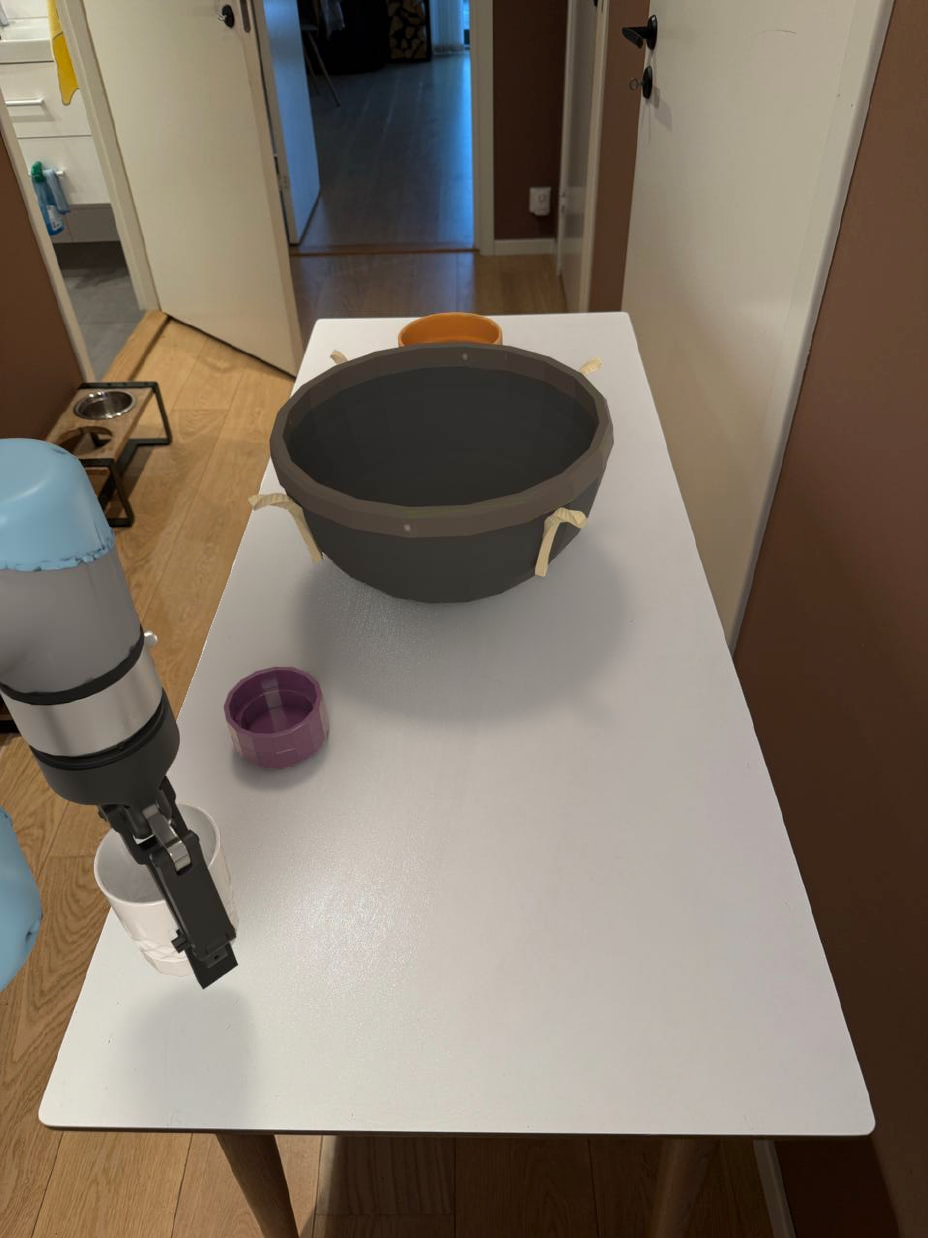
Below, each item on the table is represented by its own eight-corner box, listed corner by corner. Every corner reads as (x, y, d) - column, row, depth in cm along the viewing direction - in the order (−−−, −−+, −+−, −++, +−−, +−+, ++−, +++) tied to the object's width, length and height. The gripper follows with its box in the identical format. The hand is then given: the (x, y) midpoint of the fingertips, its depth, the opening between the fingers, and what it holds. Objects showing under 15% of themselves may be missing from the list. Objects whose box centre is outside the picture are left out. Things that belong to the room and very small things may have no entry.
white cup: (237, 984, 63) (206, 903, 56) (121, 987, 63) (77, 907, 56) (255, 883, 69) (229, 799, 62) (149, 886, 69) (112, 802, 62)
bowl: (341, 477, 123) (319, 334, 110) (609, 490, 118) (620, 342, 105) (257, 662, 97) (215, 505, 84) (597, 689, 92) (609, 526, 79)
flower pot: (397, 443, 129) (388, 356, 120) (414, 394, 139) (407, 310, 131) (498, 446, 127) (496, 358, 119) (507, 396, 138) (507, 312, 129)
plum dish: (266, 789, 85) (256, 753, 81) (218, 733, 90) (206, 698, 86) (347, 738, 89) (340, 702, 85) (296, 688, 94) (288, 653, 91)
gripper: (251, 784, 46) (313, 1003, 61) (85, 593, 58) (171, 815, 73) (109, 870, 43) (212, 1080, 58) (-36, 647, 55) (81, 869, 70)
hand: (189, 931), depth 66 cm, fingers closed on white cup, 8 cm apart
